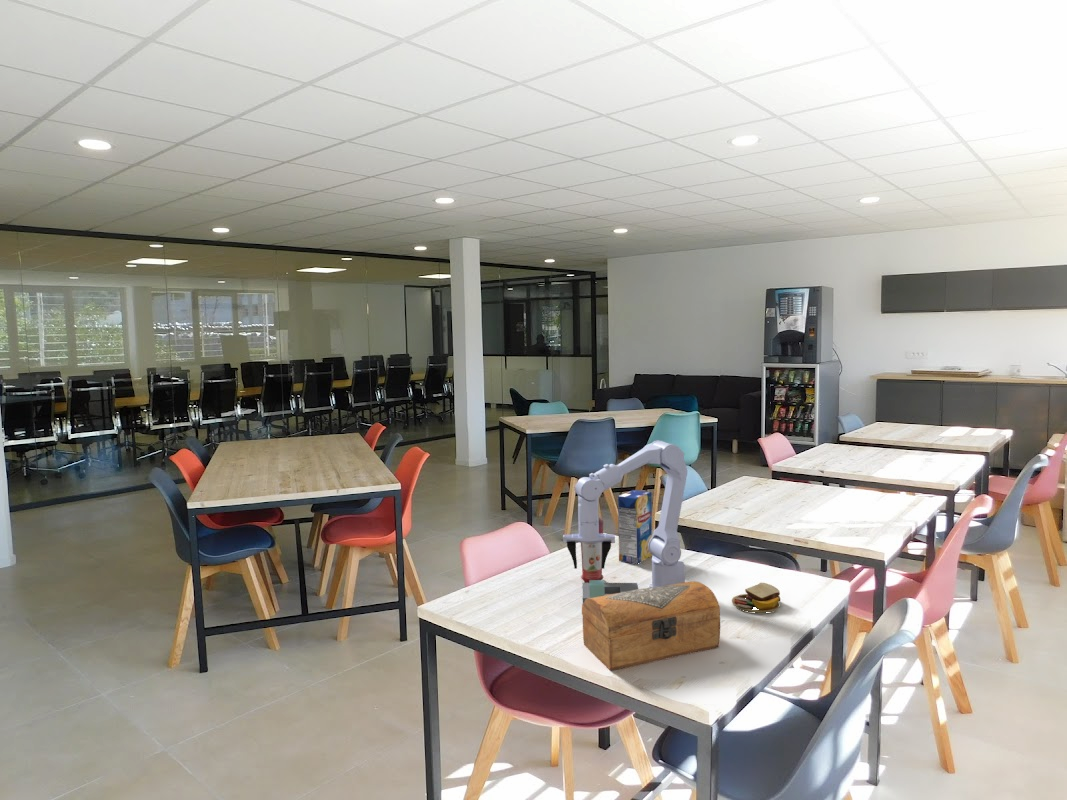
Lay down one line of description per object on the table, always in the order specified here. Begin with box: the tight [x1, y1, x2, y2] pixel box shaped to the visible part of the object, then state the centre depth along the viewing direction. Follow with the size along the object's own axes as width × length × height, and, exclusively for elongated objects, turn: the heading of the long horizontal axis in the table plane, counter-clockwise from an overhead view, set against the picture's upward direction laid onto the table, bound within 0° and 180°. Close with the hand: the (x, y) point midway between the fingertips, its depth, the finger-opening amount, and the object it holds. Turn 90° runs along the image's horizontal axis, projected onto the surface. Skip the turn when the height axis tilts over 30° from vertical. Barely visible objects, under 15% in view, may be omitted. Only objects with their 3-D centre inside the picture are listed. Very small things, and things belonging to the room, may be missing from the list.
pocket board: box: [582, 582, 639, 604], centre depth 197 cm, size 16×12×2 cm
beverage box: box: [617, 489, 653, 565], centre depth 231 cm, size 7×11×22 cm, turn 145°
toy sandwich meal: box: [731, 582, 781, 613], centre depth 189 cm, size 12×14×5 cm
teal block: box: [589, 579, 605, 598], centre depth 187 cm, size 4×4×8 cm
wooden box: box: [581, 581, 721, 672], centre depth 165 cm, size 30×16×14 cm, turn 109°
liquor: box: [580, 517, 604, 583], centre depth 210 cm, size 7×7×28 cm
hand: (589, 567), depth 194 cm, fingers open, 7 cm apart
